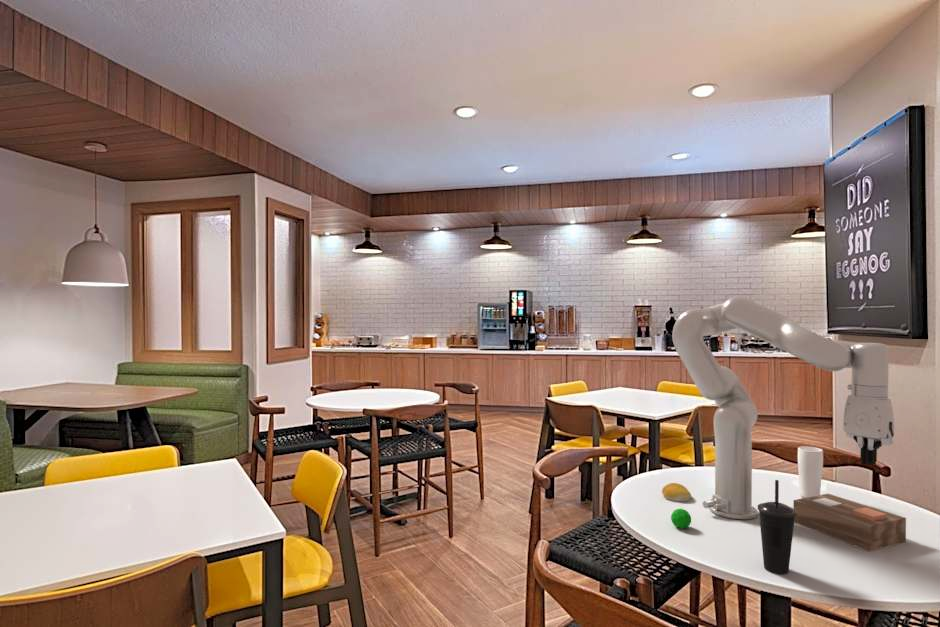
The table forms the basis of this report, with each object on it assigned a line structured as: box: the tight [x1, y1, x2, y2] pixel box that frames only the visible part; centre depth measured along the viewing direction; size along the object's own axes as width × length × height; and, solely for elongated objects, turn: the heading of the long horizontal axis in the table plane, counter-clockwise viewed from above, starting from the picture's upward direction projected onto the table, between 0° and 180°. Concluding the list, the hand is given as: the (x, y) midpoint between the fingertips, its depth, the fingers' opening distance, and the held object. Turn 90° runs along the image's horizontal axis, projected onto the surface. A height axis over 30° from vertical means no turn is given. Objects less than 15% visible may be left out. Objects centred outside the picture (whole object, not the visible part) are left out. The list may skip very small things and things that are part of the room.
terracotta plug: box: [853, 507, 886, 521], centre depth 143 cm, size 5×5×4 cm
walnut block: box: [792, 493, 907, 552], centre depth 148 cm, size 14×20×6 cm
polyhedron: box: [670, 508, 692, 529], centre depth 151 cm, size 5×5×5 cm
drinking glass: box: [797, 445, 824, 498], centre depth 174 cm, size 7×7×15 cm
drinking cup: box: [757, 479, 796, 575], centre depth 126 cm, size 8×8×20 cm
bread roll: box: [661, 482, 692, 502], centre depth 174 cm, size 8×9×4 cm
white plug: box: [812, 498, 842, 507], centre depth 153 cm, size 5×5×4 cm
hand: (868, 464), depth 143 cm, fingers closed
